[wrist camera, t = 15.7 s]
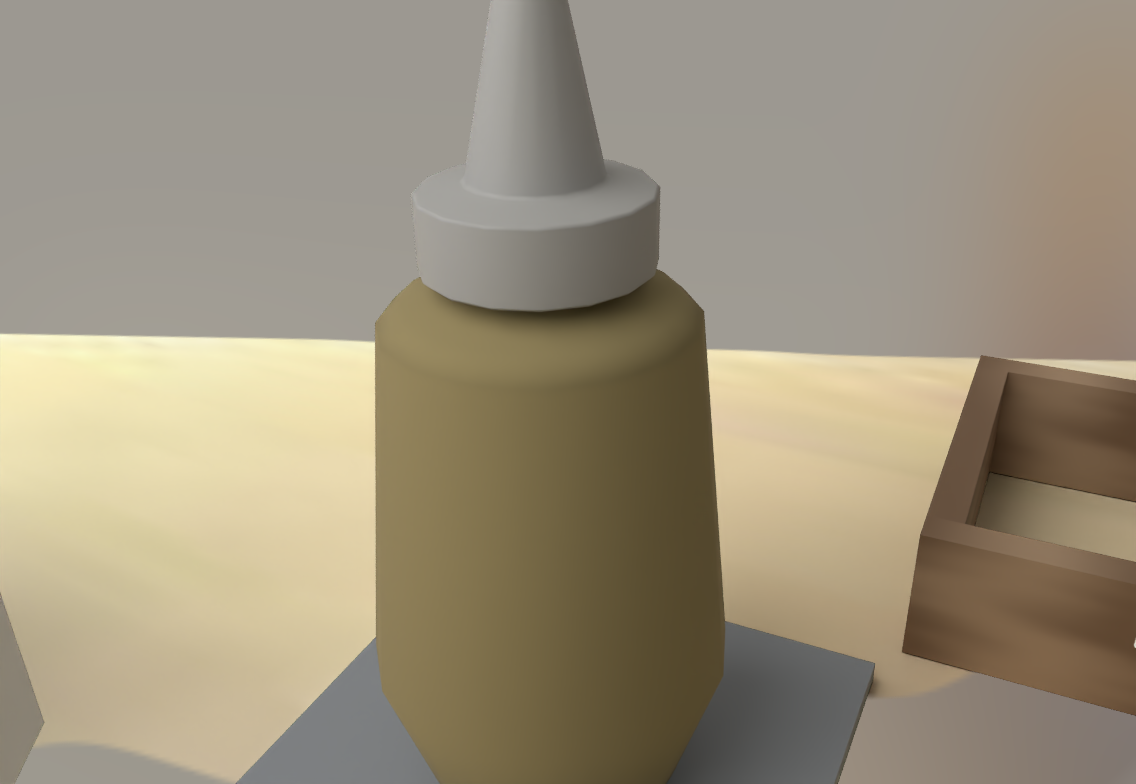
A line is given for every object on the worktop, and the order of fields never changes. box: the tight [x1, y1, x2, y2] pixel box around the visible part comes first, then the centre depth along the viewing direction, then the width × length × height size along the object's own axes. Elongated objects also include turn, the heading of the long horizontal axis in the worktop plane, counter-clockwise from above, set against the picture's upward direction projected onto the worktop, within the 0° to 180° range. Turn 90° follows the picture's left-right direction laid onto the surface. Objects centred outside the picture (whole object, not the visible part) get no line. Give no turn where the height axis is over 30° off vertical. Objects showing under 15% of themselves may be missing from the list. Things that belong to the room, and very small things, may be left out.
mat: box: [236, 621, 875, 784], centre depth 27 cm, size 13×13×1 cm
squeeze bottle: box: [375, 0, 725, 784], centre depth 23 cm, size 8×8×18 cm
